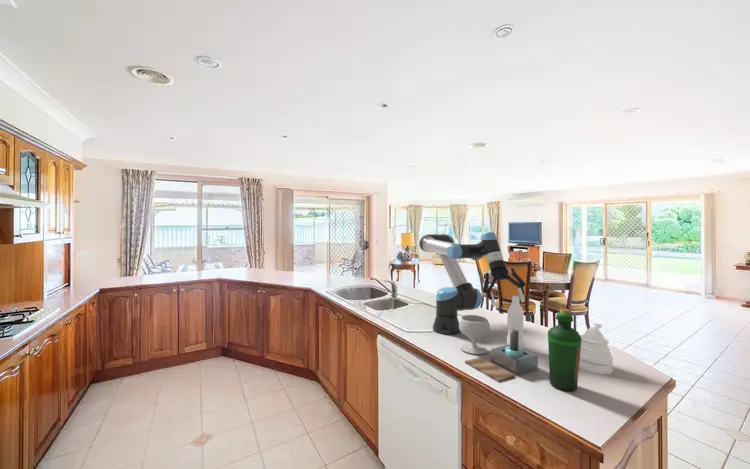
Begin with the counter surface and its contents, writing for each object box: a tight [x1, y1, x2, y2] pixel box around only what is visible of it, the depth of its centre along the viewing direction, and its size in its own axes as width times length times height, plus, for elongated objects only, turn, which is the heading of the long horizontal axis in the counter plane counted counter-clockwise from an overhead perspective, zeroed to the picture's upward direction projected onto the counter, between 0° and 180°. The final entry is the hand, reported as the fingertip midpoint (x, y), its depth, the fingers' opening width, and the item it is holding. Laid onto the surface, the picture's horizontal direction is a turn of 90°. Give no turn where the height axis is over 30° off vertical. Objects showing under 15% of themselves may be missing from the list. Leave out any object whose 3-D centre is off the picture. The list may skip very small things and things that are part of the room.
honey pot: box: [579, 322, 614, 375], centre depth 128 cm, size 13×13×18 cm
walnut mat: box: [464, 356, 516, 383], centre depth 125 cm, size 18×9×1 cm, turn 25°
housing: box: [490, 344, 539, 377], centre depth 128 cm, size 13×13×6 cm
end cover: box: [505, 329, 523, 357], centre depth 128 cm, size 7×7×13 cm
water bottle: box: [506, 295, 525, 349], centre depth 148 cm, size 7×7×25 cm
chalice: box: [459, 314, 491, 355], centre depth 145 cm, size 14×14×15 cm
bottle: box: [547, 308, 581, 392], centre depth 112 cm, size 11×11×28 cm
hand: (509, 304), depth 146 cm, fingers open, 13 cm apart
